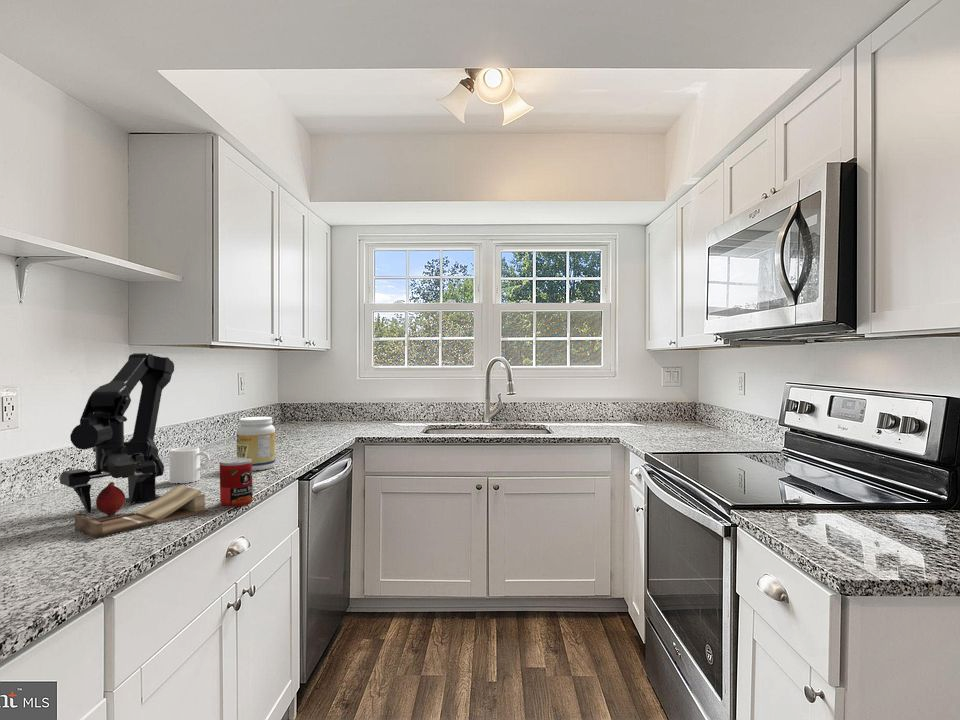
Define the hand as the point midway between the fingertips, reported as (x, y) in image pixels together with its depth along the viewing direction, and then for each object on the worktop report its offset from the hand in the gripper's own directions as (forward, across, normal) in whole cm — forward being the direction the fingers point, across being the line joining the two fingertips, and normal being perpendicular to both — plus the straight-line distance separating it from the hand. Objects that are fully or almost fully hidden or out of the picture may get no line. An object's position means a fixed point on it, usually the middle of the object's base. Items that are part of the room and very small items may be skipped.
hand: (110, 508), depth 135 cm
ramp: (+2, +8, -11) cm, 14 cm away
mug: (+2, +31, +21) cm, 38 cm away
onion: (+2, 0, 0) cm, 2 cm away
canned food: (+2, +23, -15) cm, 28 cm away
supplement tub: (+2, +54, +22) cm, 58 cm away
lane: (+2, +2, -11) cm, 11 cm away
